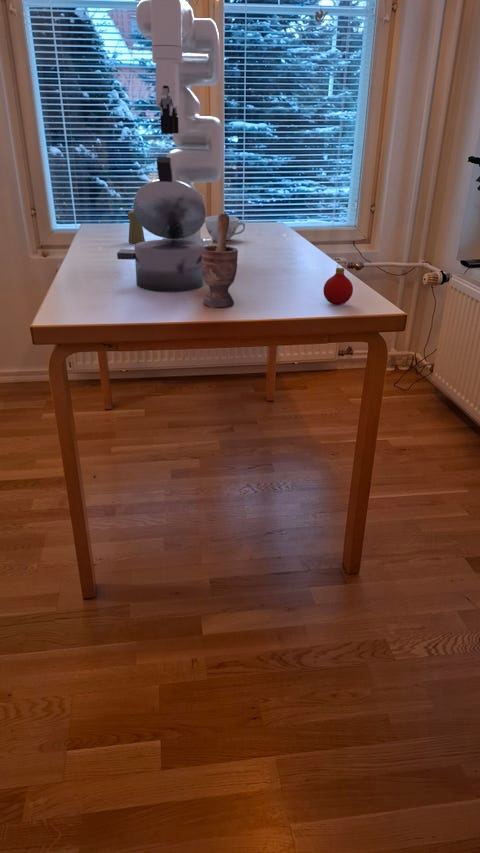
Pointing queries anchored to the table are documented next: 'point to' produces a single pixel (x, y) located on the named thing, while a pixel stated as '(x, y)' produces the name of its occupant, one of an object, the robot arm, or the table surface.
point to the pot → (166, 264)
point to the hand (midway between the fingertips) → (170, 133)
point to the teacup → (233, 225)
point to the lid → (169, 205)
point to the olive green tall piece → (135, 229)
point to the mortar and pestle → (219, 267)
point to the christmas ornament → (338, 288)
